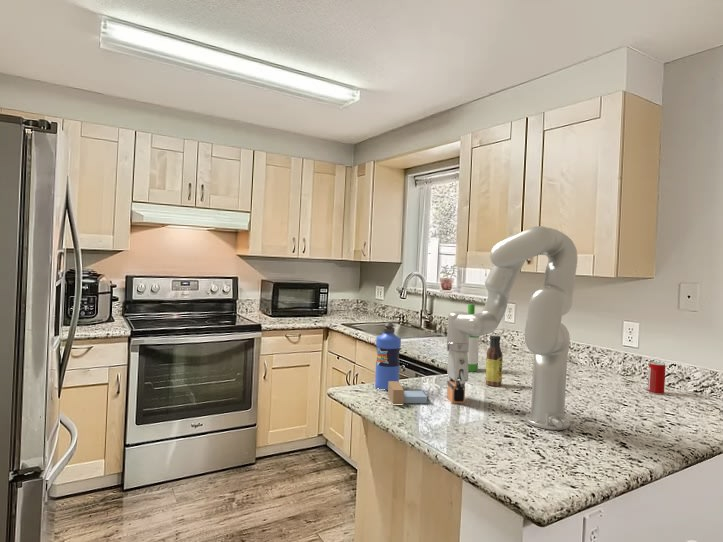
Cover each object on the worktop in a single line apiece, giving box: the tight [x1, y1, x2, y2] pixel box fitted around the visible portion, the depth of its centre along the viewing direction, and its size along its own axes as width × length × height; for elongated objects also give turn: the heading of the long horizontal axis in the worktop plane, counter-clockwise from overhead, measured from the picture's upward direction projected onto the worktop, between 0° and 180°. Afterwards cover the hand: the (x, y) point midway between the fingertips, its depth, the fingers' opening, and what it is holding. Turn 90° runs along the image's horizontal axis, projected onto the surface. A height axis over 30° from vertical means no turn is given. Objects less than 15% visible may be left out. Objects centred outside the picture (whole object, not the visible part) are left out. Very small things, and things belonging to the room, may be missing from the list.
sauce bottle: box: [485, 334, 504, 387], centre depth 183 cm, size 6×6×20 cm
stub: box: [446, 380, 466, 404], centre depth 160 cm, size 6×4×6 cm
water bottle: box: [374, 321, 402, 390], centre depth 174 cm, size 9×9×25 cm
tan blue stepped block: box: [387, 381, 429, 405], centre depth 158 cm, size 11×12×5 cm
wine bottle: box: [467, 303, 480, 373], centre depth 207 cm, size 8×8×30 cm
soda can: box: [647, 361, 666, 396], centre depth 179 cm, size 6×6×12 cm
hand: (455, 397), depth 160 cm, fingers closed on stub, 6 cm apart
